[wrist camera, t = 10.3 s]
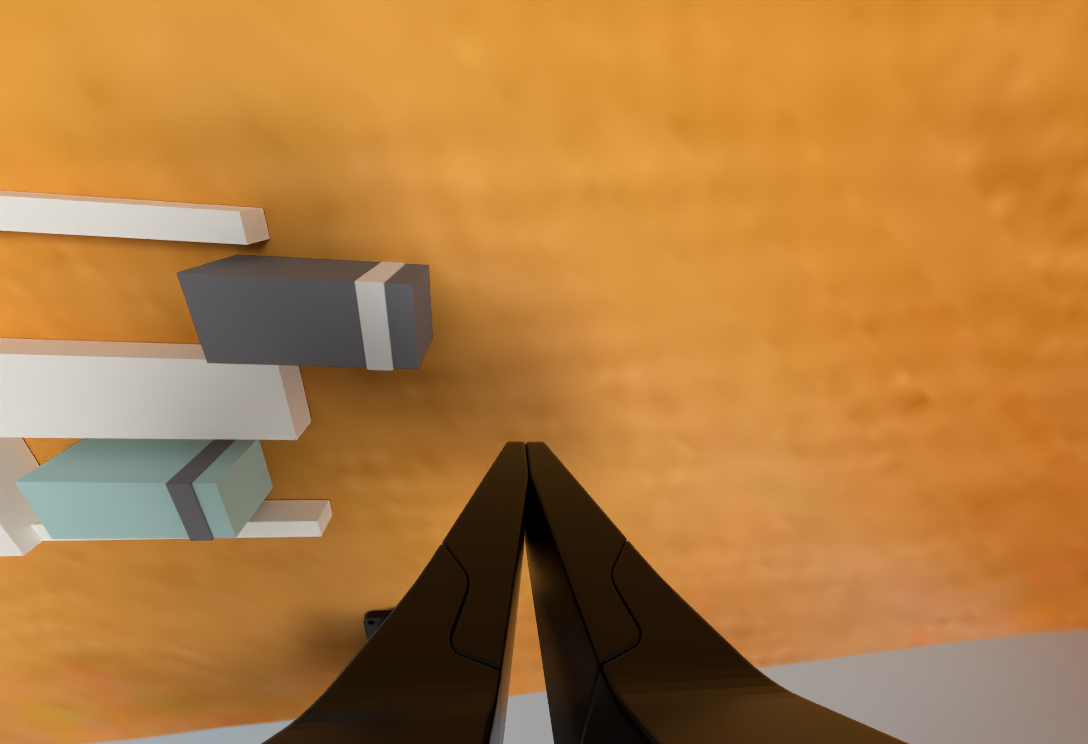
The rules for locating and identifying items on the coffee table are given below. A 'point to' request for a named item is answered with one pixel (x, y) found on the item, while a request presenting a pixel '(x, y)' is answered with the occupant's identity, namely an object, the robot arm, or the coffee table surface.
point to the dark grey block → (310, 312)
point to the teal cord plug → (149, 488)
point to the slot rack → (139, 370)
